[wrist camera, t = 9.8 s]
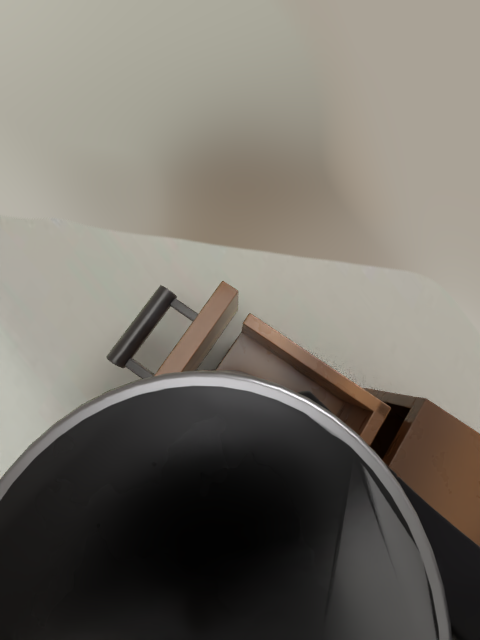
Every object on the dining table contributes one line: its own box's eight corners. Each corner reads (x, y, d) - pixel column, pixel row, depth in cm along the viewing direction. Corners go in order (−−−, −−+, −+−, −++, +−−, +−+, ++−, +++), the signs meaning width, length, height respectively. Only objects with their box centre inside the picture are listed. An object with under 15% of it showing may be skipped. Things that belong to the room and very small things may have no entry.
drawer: (108, 381, 22) (63, 387, 16) (187, 275, 23) (171, 246, 17) (285, 510, 20) (304, 566, 15) (357, 389, 22) (400, 398, 16)
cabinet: (287, 517, 21) (314, 600, 14) (363, 387, 23) (426, 398, 15) (446, 633, 20) (571, 794, 12) (514, 488, 22) (662, 553, 14)
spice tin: (288, 487, 13) (503, 985, 3) (168, 492, 13) (-122, 1025, 3) (282, 366, 14) (419, 363, 4) (170, 369, 14) (-37, 377, 4)
